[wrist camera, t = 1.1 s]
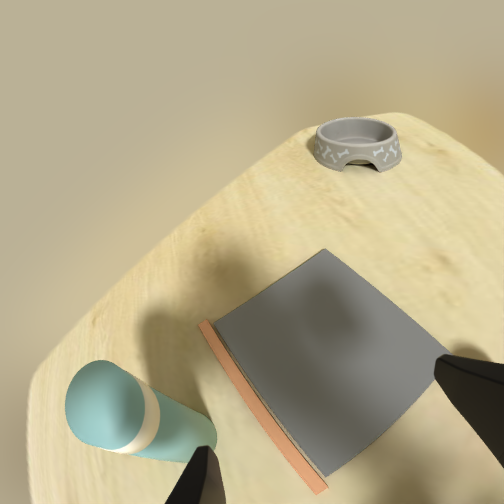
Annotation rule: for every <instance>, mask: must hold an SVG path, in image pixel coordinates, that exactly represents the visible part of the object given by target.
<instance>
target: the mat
mask: <svg viewBox="0 0 504 504" xmlns="http://www.w3.org/2000/svg"><path fill="white" fill-rule="evenodd" d="M213 324H214V325H215V327H216V328H217V330H218V332H219V333H220V335H221V336H222V338H223V339H224V341H225V343H226V344H227V346H228V347H229V349H230V350H231V352H232V353H233V355H234V356H235V358H236V359H237V361H238V362H239V364H240V365H241V367H242V368H243V370H244V371H245V373H246V374H247V376H248V377H249V378H250V380H251V381H252V383H253V384H254V386H255V387H256V388H257V390H258V391H259V393H260V394H261V396H262V397H263V398H264V400H265V401H266V402H267V404H268V405H269V407H270V408H271V409H272V411H273V412H274V413H275V415H276V416H277V417H278V419H279V420H280V421H281V423H282V424H283V425H284V427H285V428H286V429H287V431H288V432H289V433H290V434H291V436H292V437H293V438H294V440H295V441H296V442H297V443H298V445H299V446H300V447H301V448H302V450H303V451H304V452H305V453H306V454H307V456H308V457H309V458H310V459H311V461H312V462H313V463H314V464H315V465H316V467H317V468H318V469H319V470H320V471H321V472H322V474H323V475H324V476H325V477H327V476H329V475H330V474H332V473H333V472H334V471H336V470H337V469H339V468H340V467H341V466H343V465H344V464H346V463H347V462H348V461H350V460H351V459H352V458H354V457H355V456H356V455H357V454H359V453H360V452H361V451H362V450H364V449H365V448H366V447H367V446H369V445H370V444H371V443H372V442H373V441H374V440H376V439H377V438H378V437H379V436H380V435H381V434H382V433H384V432H385V431H386V430H387V429H388V428H389V427H390V426H391V425H392V424H393V423H394V422H395V421H396V420H397V419H399V418H400V417H401V416H402V415H403V414H404V413H405V412H406V411H407V409H408V408H409V407H410V406H411V405H412V404H413V403H414V402H415V401H416V400H417V399H418V398H419V397H420V396H421V395H422V393H423V392H424V391H425V390H426V389H427V388H428V387H429V385H430V384H431V383H432V382H433V381H434V379H435V377H434V367H435V361H436V359H437V358H438V357H439V356H441V355H443V354H449V355H452V354H451V353H450V352H449V351H448V350H447V349H446V348H445V347H444V346H442V345H441V344H440V343H439V342H438V341H437V340H436V339H435V338H434V337H432V336H431V335H430V334H429V333H428V332H427V331H426V330H425V329H423V328H422V327H421V326H420V325H419V324H418V323H416V322H415V321H414V320H413V319H412V318H411V317H410V316H408V315H407V314H406V313H405V312H404V311H402V310H401V309H400V308H399V307H398V306H397V305H395V304H394V303H393V302H392V301H391V300H389V299H388V298H387V297H386V296H385V295H383V294H382V293H381V292H380V291H378V290H377V289H376V288H375V287H374V286H372V285H371V284H370V283H369V282H367V281H366V280H365V279H364V278H362V277H361V276H360V275H359V274H357V273H356V272H355V271H354V270H352V269H351V268H350V267H348V266H347V265H346V264H345V263H343V262H342V261H341V260H340V259H338V258H337V257H336V256H334V255H333V254H332V253H330V252H329V251H328V250H327V249H324V250H322V251H321V252H319V253H318V254H317V255H315V256H314V257H312V258H311V259H309V260H308V261H307V262H305V263H304V264H302V265H301V266H299V267H298V268H296V269H295V270H293V271H292V272H291V273H289V274H288V275H286V276H285V277H283V278H282V279H280V280H279V281H277V282H276V283H274V284H273V285H271V286H270V287H268V288H267V289H265V290H264V291H262V292H261V293H259V294H258V295H256V296H255V297H253V298H252V299H250V300H249V301H247V302H246V303H244V304H242V305H241V306H239V307H238V308H236V309H235V310H233V311H232V312H230V313H229V314H227V315H225V316H224V317H222V318H221V319H219V320H218V321H216V322H214V323H213Z"/></svg>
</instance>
